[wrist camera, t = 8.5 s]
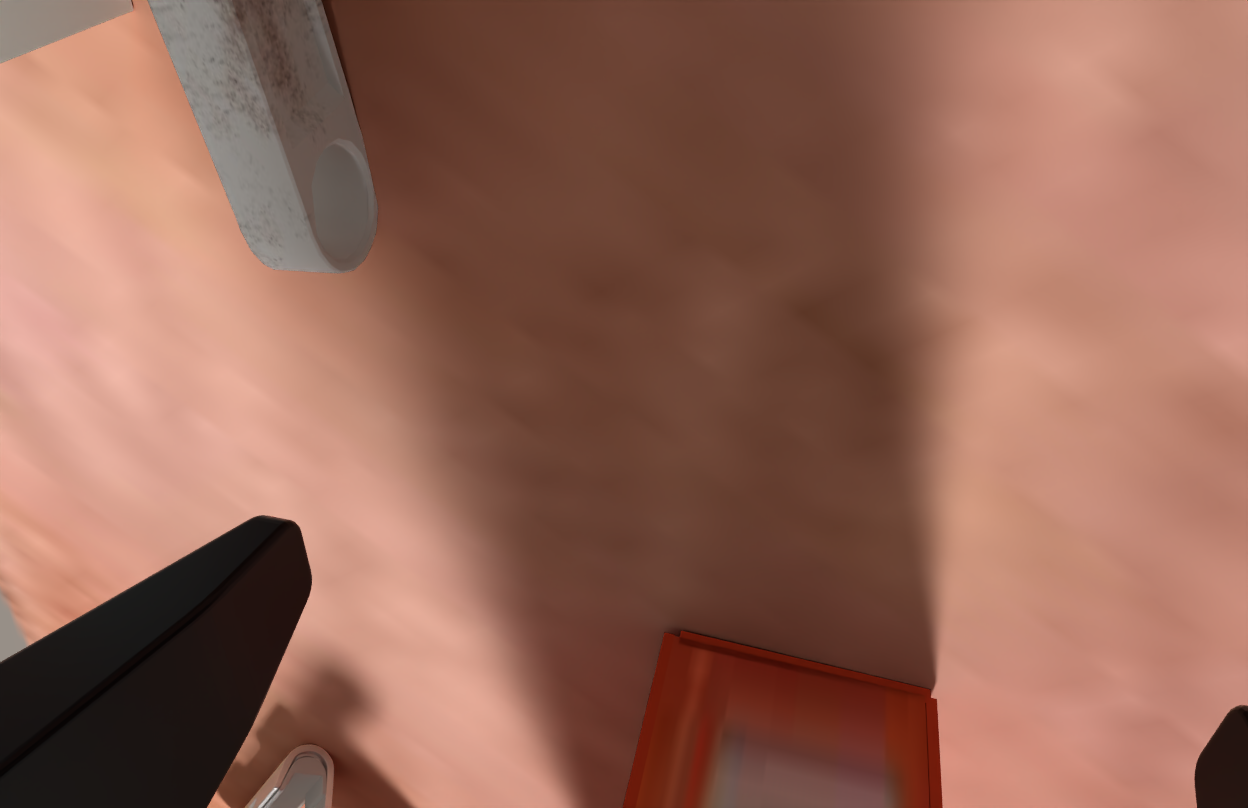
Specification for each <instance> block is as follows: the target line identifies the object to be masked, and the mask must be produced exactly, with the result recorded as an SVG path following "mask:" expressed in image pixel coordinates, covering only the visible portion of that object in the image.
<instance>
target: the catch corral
mask: <svg viewBox="0 0 1248 808" xmlns="http://www.w3.org/2000/svg"><path fill="white" fill-rule="evenodd" d="M131 11H134V9H133V6H132V2H131V0H0V63H3V62H5V61H8V60H10V59H13V58H15V57H18V56H21V55H23V54H26V53H28V52H31V51H33V50H36V49H38V48H41V47H43V46H46V45H48V44H51V43H53V42H56V41H58V40H61V39H63V38H66V37H68V36H71V35H73V34H76V33H78V32H81V31H83V30H86V29H88V28H91V27H94V26H96V25H99V24H101V23H104V22H106V21H109V20H111V19H114V18H116V17H119V16H121V15H124V14H126V13H129V12H131Z"/></svg>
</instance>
